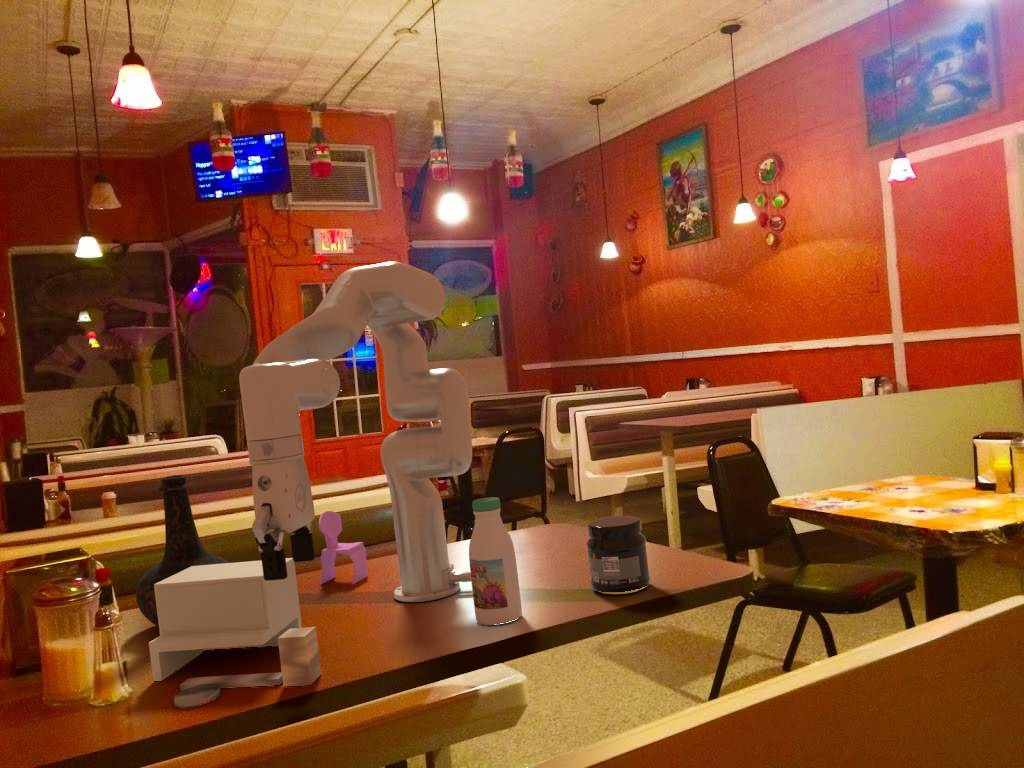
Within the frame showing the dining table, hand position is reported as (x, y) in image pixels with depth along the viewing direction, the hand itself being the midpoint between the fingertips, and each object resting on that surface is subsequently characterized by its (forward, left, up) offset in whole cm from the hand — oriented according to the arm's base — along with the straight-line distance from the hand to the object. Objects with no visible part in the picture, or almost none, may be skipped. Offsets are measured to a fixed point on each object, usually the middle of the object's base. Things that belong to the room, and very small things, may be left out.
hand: (290, 569), depth 114 cm
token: (+14, +5, -16) cm, 22 cm away
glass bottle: (+36, -33, -16) cm, 51 cm away
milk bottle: (-25, -22, -16) cm, 37 cm away
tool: (+8, 0, -16) cm, 18 cm away
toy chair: (+14, -56, -16) cm, 60 cm away
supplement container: (-45, -35, -16) cm, 59 cm away
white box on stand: (+16, -10, -16) cm, 25 cm away
